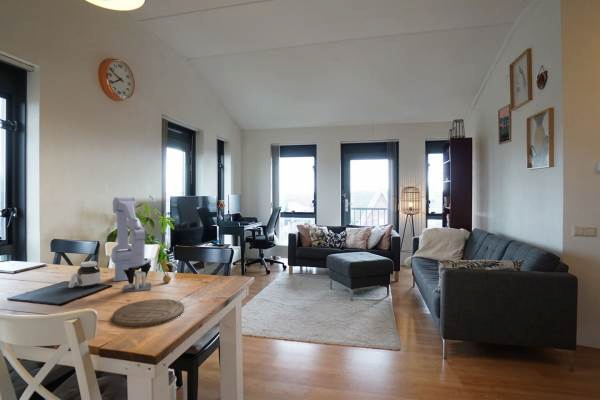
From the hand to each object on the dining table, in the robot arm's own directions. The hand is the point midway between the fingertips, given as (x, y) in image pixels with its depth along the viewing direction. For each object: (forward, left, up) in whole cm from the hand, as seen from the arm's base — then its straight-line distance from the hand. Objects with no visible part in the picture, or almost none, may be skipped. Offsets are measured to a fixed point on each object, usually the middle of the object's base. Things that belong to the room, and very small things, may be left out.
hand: (137, 281), depth 154 cm
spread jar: (-11, -24, -4) cm, 27 cm away
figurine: (-6, +13, -3) cm, 15 cm away
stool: (0, 0, -3) cm, 3 cm away
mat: (0, 0, -3) cm, 3 cm away
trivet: (+38, +6, -4) cm, 39 cm away
